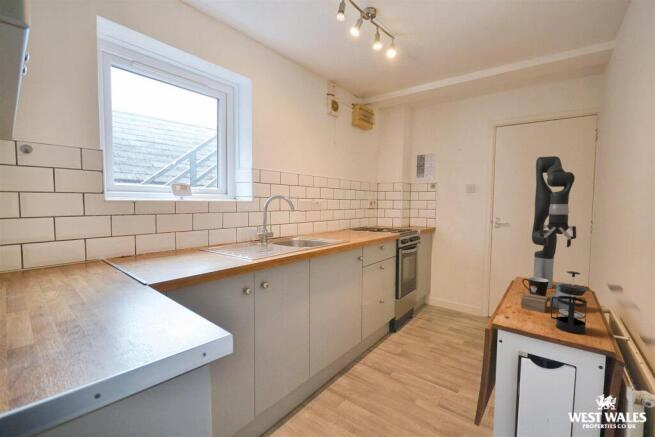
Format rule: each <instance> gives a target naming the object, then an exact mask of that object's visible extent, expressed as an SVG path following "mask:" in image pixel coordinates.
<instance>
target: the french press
mask: <svg viewBox="0 0 655 437" xmlns="http://www.w3.org/2000/svg"><path fill="white" fill-rule="evenodd" d="M566 273H567V274H570V275H571V278H572V283H569V284H560V285H558V286H559V287H560V292H562V293H565V294H569V295H571V296H572V297H571V296H558V297H554V296H552V302H551V308H550V319H552V320H555V321H556V322H555V327H556V328H557V329H558V330H560V331H562V332H565V333H569V334H573V335H585V334H586V333H587V330H586V326H587V312H588V311H587V307H588V301H587V300H585V299H583V298H580V297H582V296H584V295H585V293H586V292H588V290H589V289H588V288H587V287H584V286H581V285H577V284H574V282H575V277H576V275H581V272H577V271H571V270H570V271H569V270H568V271H566ZM570 284H571V285H570ZM573 296H575V297H573ZM553 298H555V299H558V302H560V303H563V304H566V305H569V310H566V309H561V310H560V309H558V302H557V309H556V316H553V308H552V307H553ZM561 299H569V302H568V301H564V300H561ZM575 301H576V303H575ZM578 302H579V303H578ZM575 306H576V307H577V308H578V307H579V308H583V307H585V310H584V311H585V312H584V313H582V312H579V311H576V308H575ZM559 314H560V315H559ZM582 319H584V321H583V320H582Z"/></svg>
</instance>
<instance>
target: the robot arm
mask: <svg viewBox="0 0 655 437" xmlns="http://www.w3.org/2000/svg"><path fill="white" fill-rule="evenodd" d="M544 173H545V174H546V175H547V178H546V180H545V178H544ZM575 178H576V177H575V174H574V173H573V172H571V171H565V170H564V169H563V165H562V161H561V158H560V157H558V156H555V155H554V156H539V157H537V159H536V162H535V180H536V182H535V194H534V195H535V196H534V197H535V198H534V217H533V226H532V233H531V241H532V243H533V244H535V245H536V246H537V245H538V246H542V247H543V248H542V249H541V250H537V251H535V252H534V255H533V256H534V257H533V258H534V259H533V260H534V262H533V277H537V278H543V279H547V280H549V282H548V287H547V290H549V289H550V290H551V289H553V285H554V284H553V283H554V267H555V266H554V261H555V260H554V259H555V254H556V249H557V242H558V236H557V235H564V237H566V248H569V247H571V245H572V240H575V239H576V238H577V226H576V225H569V213H570V211H569V202H570V201H569V199H570V193H571V189H572V187H573V185H574V182H575ZM551 187H552V188H560V187H561V188H563V189H561V190H558V191H553V190H552V189H551ZM547 218H548V224H545V223H546V220H547ZM546 228H547V229H546ZM569 229H570V231H572V236H571V235H570V234H569V233H568V232H567V231H568V230H569Z"/></svg>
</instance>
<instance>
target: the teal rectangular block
mask: <svg viewBox="0 0 655 437" xmlns="http://www.w3.org/2000/svg"><path fill="white" fill-rule="evenodd" d="M560 284H570V285H572V283H568V282H560V281H558V282H557V283H556V285H555V293H556V297H558V296H572V295H569V294H565V293H562V292H560V287H559V286H558V285H560ZM567 300H569V299H567Z"/></svg>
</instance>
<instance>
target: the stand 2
mask: <svg viewBox="0 0 655 437" xmlns="http://www.w3.org/2000/svg"><path fill="white" fill-rule="evenodd" d="M552 296H554V297H556V292H552V293H551V295H550V298H549V299H550V300H549V308H550V309H551V302H552ZM571 297H572V295H571ZM573 297H576V296H575V295H573ZM561 300H564V301H568V302H569V300H567V299H561ZM557 302H558V299H555V298H553V307H552V309H554V310H555V309H556V310H557ZM575 303H577V301H575ZM561 309H566V310H569V305H566V304H563V303H560V302H558V310H561ZM575 309H576V306H575Z"/></svg>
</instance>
